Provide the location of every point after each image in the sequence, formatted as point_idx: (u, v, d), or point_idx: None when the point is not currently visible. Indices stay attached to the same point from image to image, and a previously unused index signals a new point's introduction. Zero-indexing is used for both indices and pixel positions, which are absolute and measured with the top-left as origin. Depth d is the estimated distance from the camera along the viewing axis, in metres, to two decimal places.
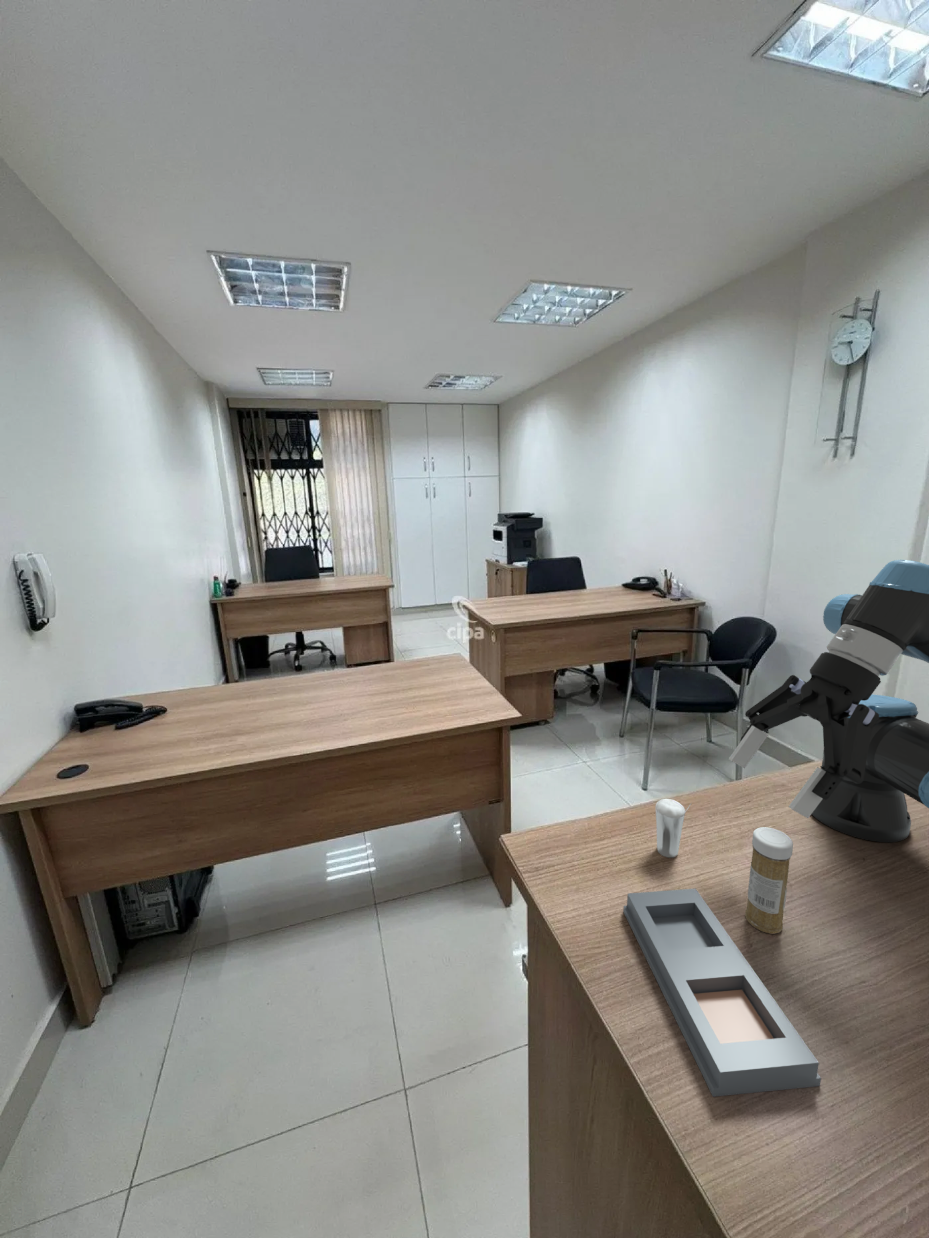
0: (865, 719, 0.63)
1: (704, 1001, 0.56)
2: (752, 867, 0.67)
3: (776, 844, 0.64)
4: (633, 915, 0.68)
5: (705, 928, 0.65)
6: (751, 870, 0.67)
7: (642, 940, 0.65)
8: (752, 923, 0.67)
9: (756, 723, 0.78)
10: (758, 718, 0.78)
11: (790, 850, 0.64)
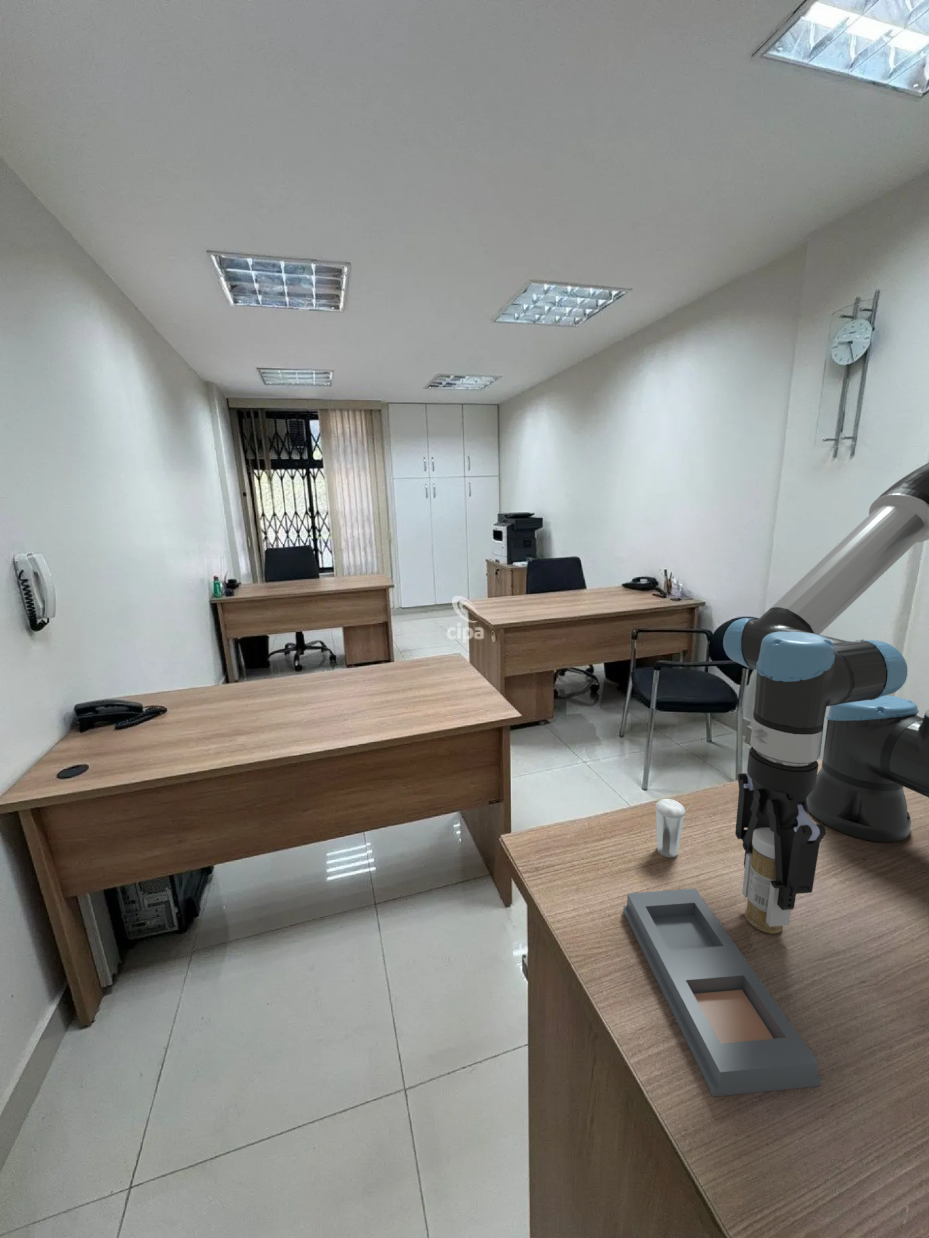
0: (809, 839, 0.59)
1: (704, 1001, 0.56)
2: (752, 867, 0.67)
3: None
4: (633, 915, 0.68)
5: (705, 928, 0.65)
6: (751, 870, 0.67)
7: (642, 940, 0.65)
8: (752, 923, 0.67)
9: (749, 848, 0.69)
10: (746, 841, 0.69)
11: None
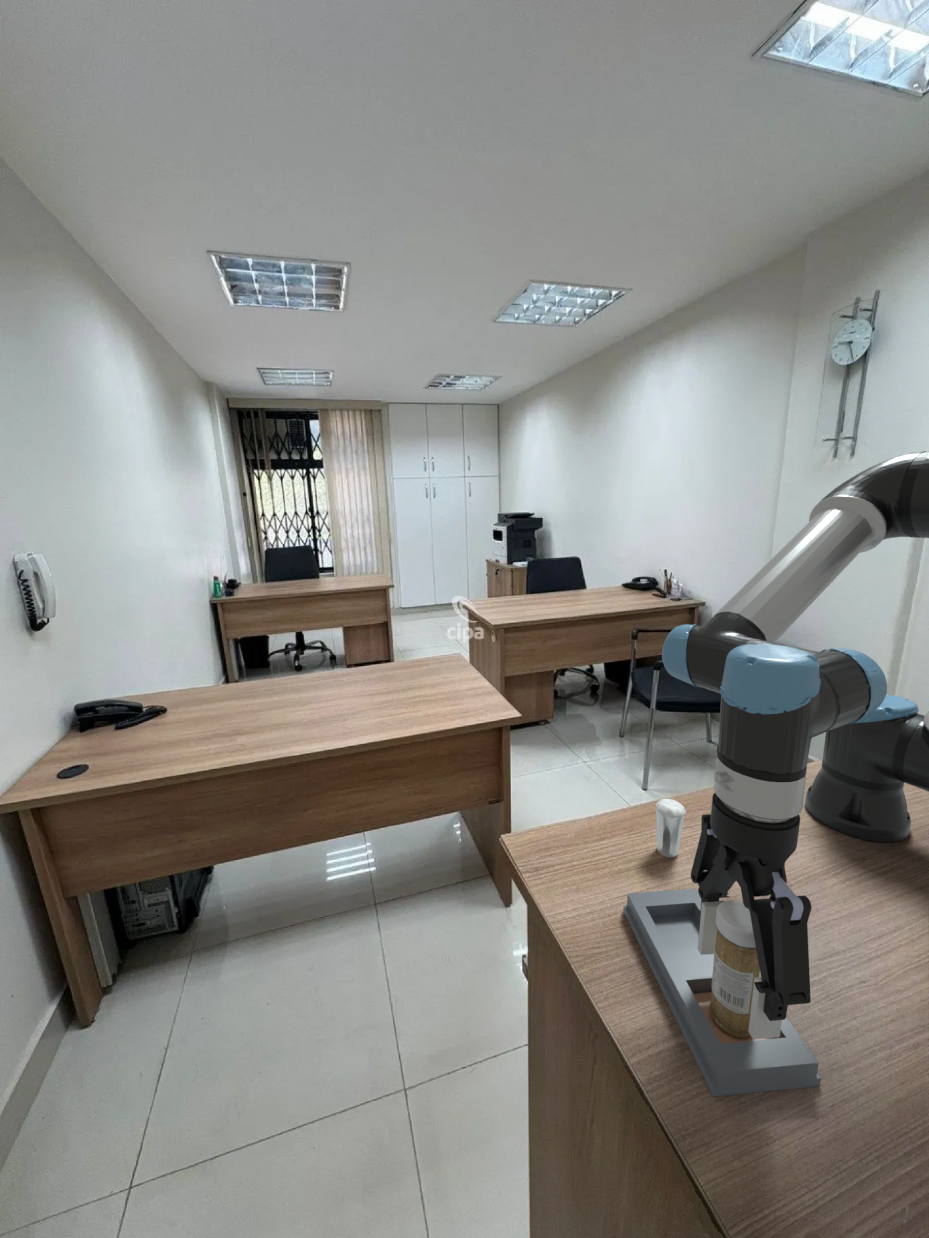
0: (792, 918, 0.43)
1: (704, 1001, 0.56)
2: (716, 952, 0.53)
3: (745, 928, 0.50)
4: (633, 915, 0.68)
5: None
6: (715, 956, 0.53)
7: (642, 940, 0.65)
8: (717, 1022, 0.53)
9: (705, 897, 0.56)
10: (703, 889, 0.57)
11: None
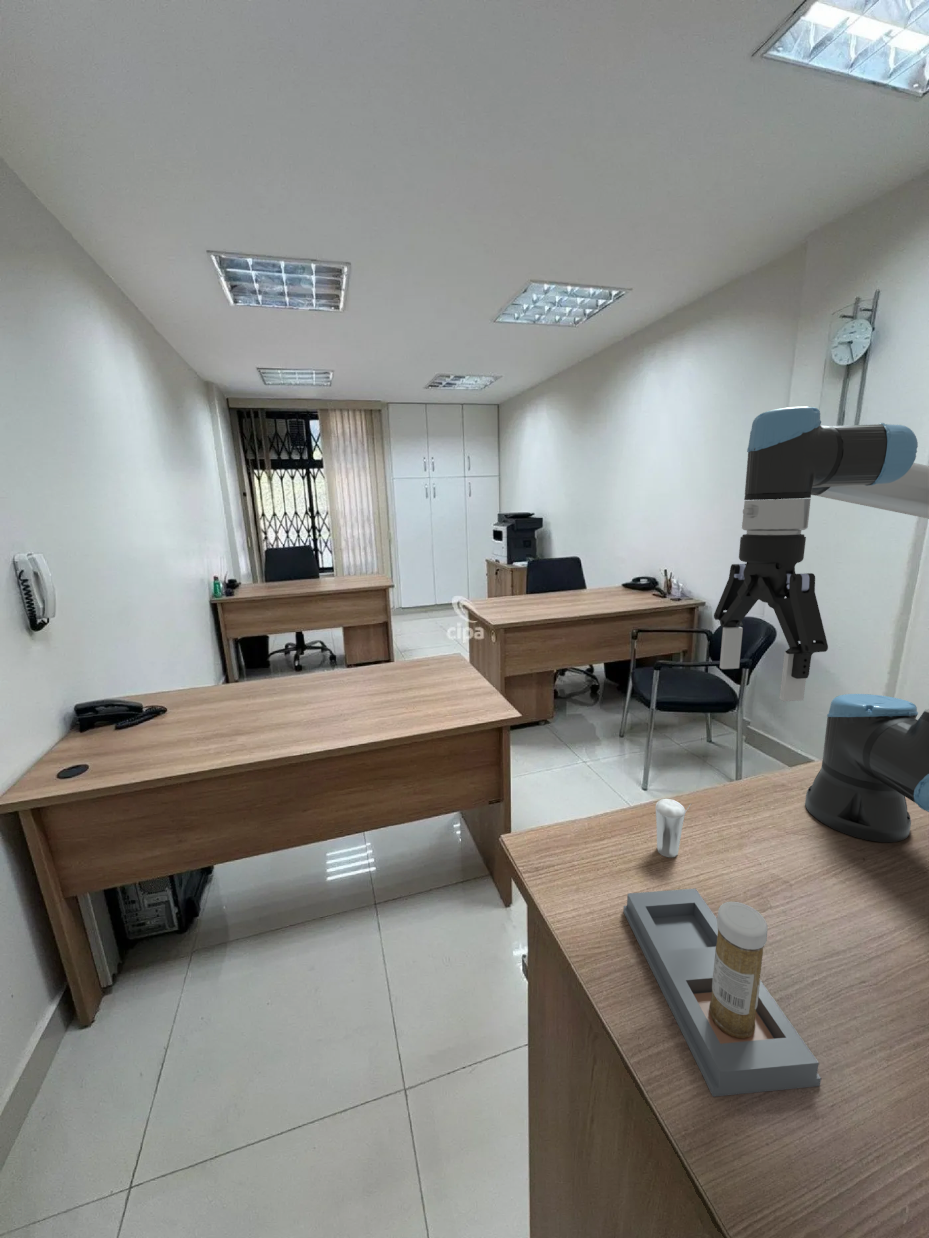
0: (803, 586, 0.61)
1: (704, 1001, 0.56)
2: (717, 953, 0.53)
3: (746, 930, 0.50)
4: (633, 915, 0.68)
5: (705, 928, 0.65)
6: (716, 956, 0.53)
7: (642, 940, 0.65)
8: (716, 1022, 0.53)
9: (725, 623, 0.76)
10: (724, 618, 0.76)
11: (763, 937, 0.50)
